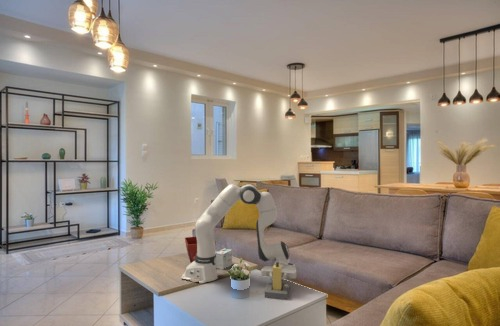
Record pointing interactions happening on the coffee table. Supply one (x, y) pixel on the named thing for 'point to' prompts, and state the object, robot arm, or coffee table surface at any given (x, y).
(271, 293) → the socket
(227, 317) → the coffee table surface
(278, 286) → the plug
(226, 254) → the light bulb box
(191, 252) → the plant pot
